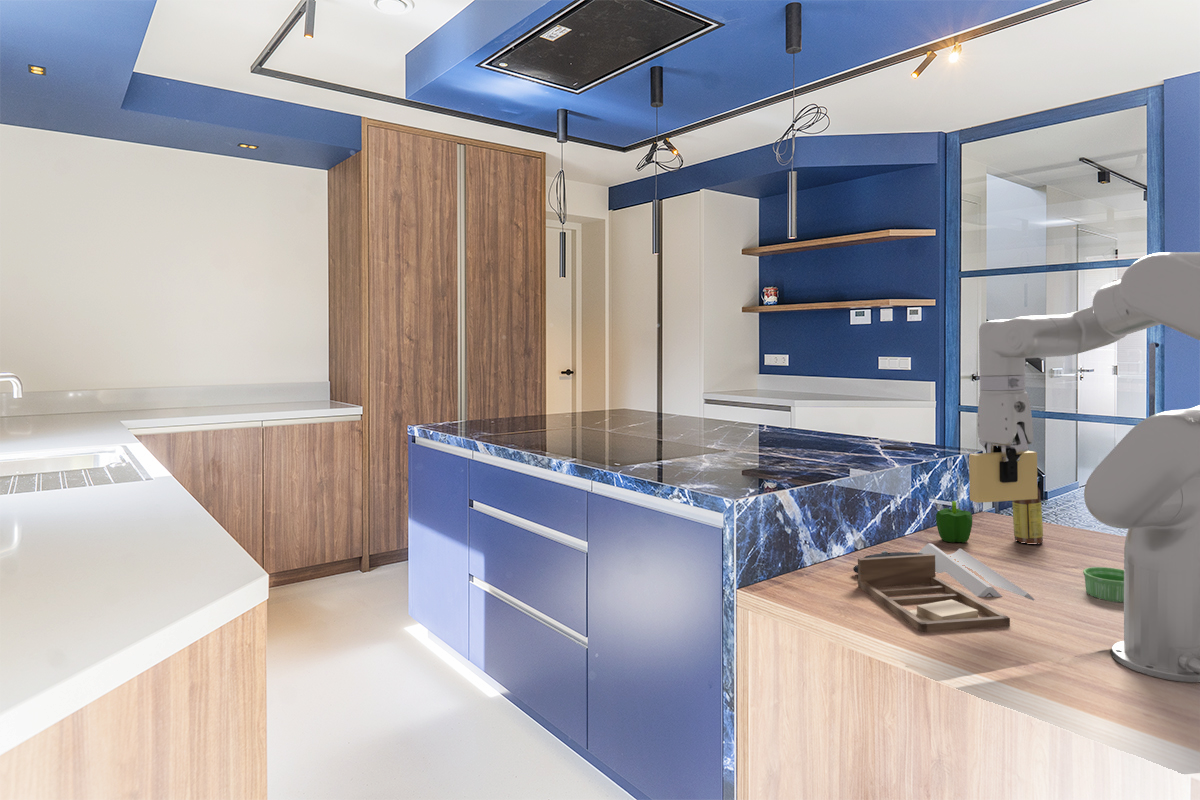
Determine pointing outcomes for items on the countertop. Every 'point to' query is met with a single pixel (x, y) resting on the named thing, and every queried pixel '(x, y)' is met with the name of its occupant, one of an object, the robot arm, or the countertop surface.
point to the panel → (988, 478)
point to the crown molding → (967, 577)
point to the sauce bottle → (1028, 520)
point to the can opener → (886, 554)
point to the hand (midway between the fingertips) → (1003, 479)
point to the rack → (920, 591)
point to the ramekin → (1105, 583)
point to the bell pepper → (954, 524)
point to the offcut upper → (946, 611)
